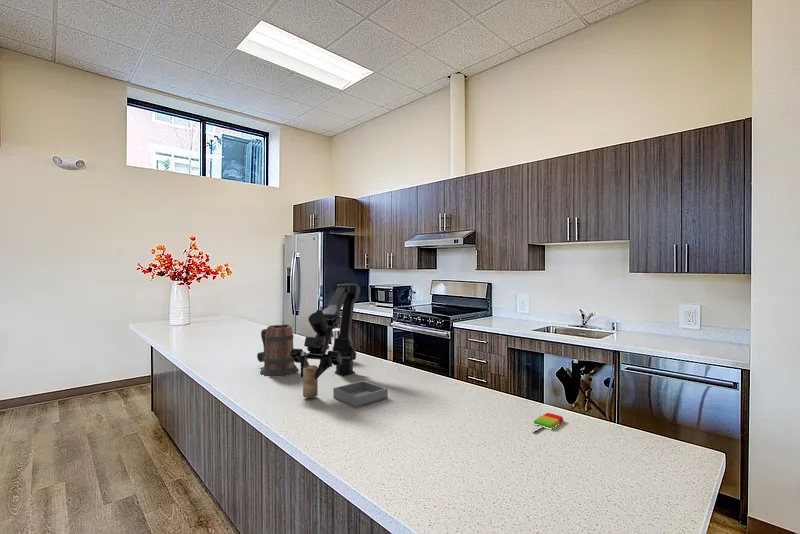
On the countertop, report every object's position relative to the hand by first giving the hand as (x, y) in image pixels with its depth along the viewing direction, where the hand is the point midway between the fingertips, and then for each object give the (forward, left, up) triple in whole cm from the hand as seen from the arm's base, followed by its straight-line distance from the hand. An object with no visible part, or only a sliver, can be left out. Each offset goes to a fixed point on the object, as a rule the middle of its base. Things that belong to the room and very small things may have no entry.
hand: (308, 377), depth 140 cm
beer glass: (-41, -41, -8) cm, 58 cm away
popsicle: (-39, +67, -8) cm, 78 cm away
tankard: (-9, -44, -8) cm, 45 cm away
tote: (-14, +11, -8) cm, 20 cm away
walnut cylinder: (-1, -1, -7) cm, 7 cm away
